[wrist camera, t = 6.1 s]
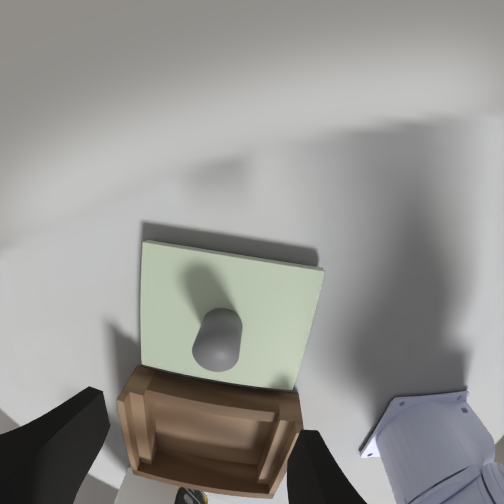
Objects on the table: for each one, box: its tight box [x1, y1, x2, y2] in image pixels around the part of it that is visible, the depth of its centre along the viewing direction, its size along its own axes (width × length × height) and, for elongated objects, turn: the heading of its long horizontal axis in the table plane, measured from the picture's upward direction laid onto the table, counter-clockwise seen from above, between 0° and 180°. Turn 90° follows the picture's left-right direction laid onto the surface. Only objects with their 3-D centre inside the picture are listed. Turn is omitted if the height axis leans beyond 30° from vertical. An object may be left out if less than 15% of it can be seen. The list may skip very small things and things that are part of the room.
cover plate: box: [140, 240, 325, 390], centre depth 16 cm, size 9×10×4 cm
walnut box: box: [117, 366, 304, 499], centre depth 19 cm, size 10×12×4 cm
